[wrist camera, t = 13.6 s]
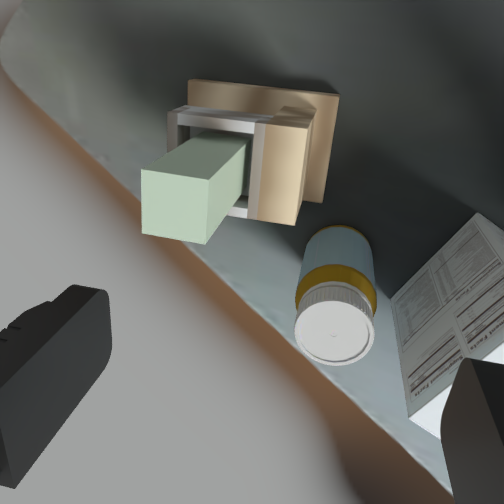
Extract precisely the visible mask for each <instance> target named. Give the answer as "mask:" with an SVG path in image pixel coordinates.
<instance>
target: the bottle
mask: <svg viewBox="0 0 504 504" xmlns="http://www.w3.org/2000/svg"><path fill="white" fill-rule="evenodd" d="M295 303H296V309H297V315H296V320H295V326H294V329H295V330H294V332H295V338H296V341H297V343H298V345H299V347H300V348H301V350H302V351H303V352H304V353H305V354H306V355H307V356H309V357H310V358H311V359H313V360H315V361H317V362H320V363H322V364H326V365H333V366H340V365H347V364H351V363H353V362H356V361H358V360H359V359H361V358H362V357H363V356H364V355H366V353H367V352H368V351H369V349H370V348H371V346H372V343H373V339H374V321H373V317H374V314H375V312H376V308H377V299H376V286H375V277H374V267H373V257H372V251H371V247H370V245H369V242H368V240H367V239H366V238H365V237H364V236H363V234H362V233H360V232H359V231H357V230H355V229H354V228H352V227H348V226H344V225H332V226H328V227H325V228H322V229H320V230H319V231H318V232H316V233H315V234H314V235H313V236H312V237H311V239H310V240H309V241H308V243H307V246H306V249H305V253H304V258H303V262H302V267H301V272H300V276H299V281H298V286H297V290H296V297H295Z"/></svg>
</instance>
